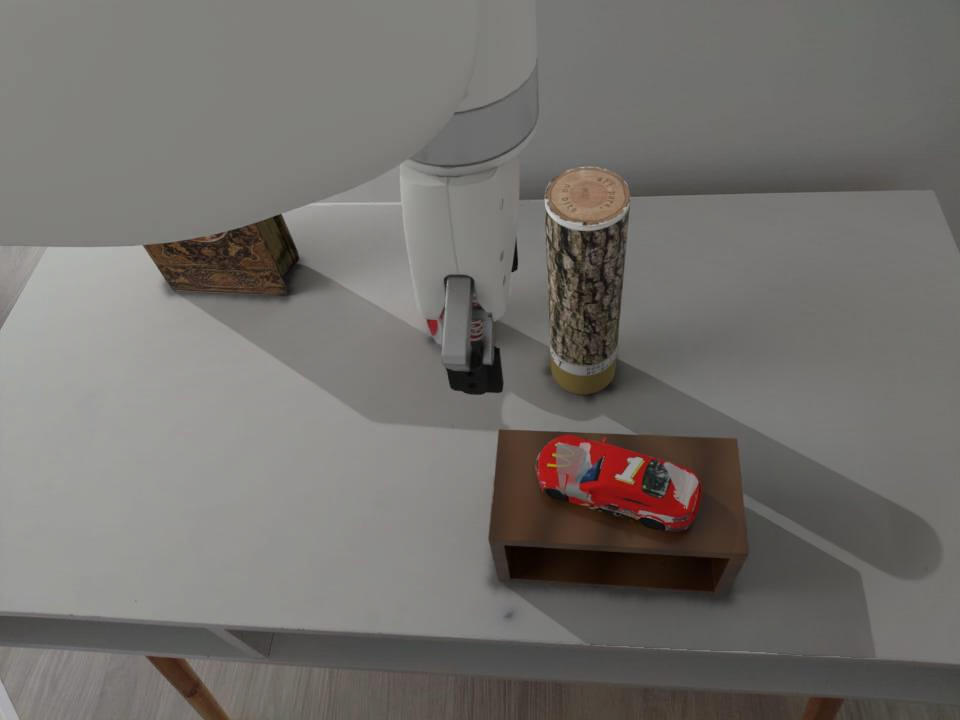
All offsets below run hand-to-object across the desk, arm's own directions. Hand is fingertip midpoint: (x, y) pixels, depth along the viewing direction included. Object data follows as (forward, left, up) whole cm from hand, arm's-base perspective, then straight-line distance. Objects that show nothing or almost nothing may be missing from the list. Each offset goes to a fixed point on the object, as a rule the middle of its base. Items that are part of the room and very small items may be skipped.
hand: (486, 324), depth 49 cm
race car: (+4, -9, -19) cm, 21 cm away
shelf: (+4, -9, -29) cm, 30 cm away
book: (+1, +46, -29) cm, 55 cm away
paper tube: (+17, +4, -29) cm, 34 cm away
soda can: (+13, +18, -29) cm, 37 cm away
